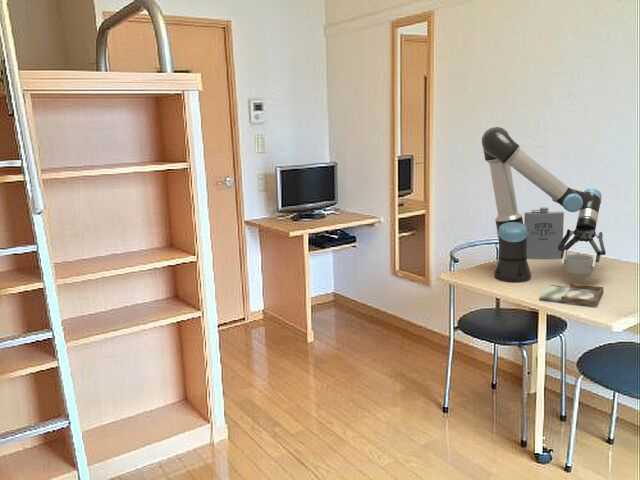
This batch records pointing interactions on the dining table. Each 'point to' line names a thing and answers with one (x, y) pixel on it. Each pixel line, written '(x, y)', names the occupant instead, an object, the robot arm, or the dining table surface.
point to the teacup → (578, 265)
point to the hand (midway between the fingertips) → (578, 266)
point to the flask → (544, 233)
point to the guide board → (573, 294)
